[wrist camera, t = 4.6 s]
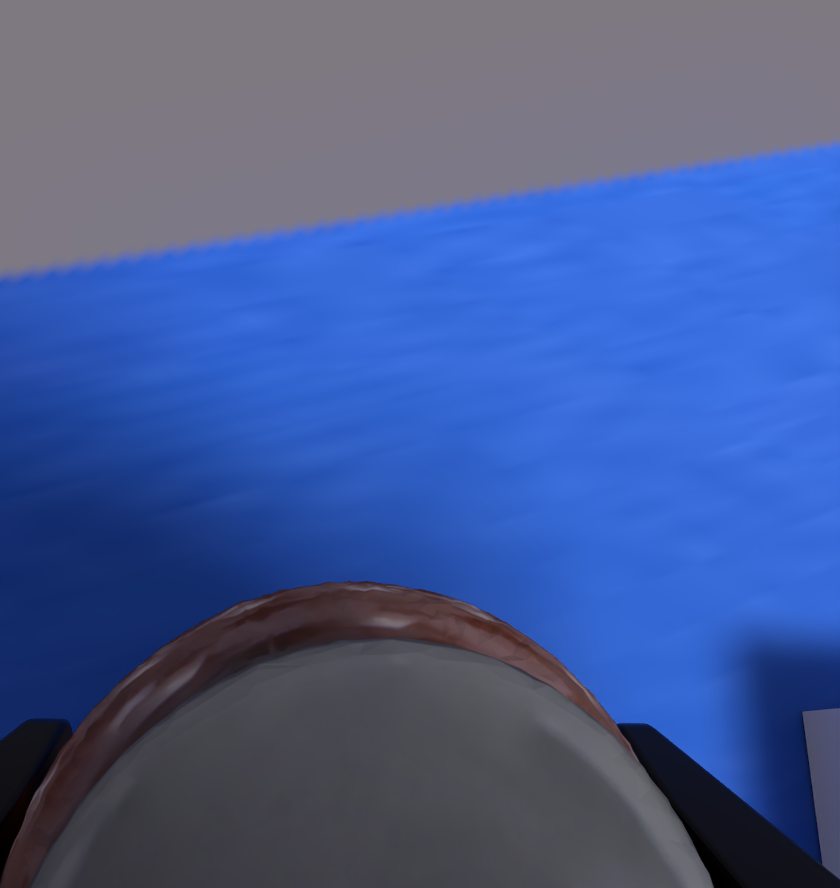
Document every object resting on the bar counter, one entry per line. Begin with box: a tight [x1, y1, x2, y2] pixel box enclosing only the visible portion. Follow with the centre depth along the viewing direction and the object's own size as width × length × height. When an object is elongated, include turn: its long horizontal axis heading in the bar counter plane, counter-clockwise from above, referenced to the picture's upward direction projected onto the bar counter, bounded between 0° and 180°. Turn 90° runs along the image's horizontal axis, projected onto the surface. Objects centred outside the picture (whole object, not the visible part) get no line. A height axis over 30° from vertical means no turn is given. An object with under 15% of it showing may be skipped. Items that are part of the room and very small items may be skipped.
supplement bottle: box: [0, 581, 714, 888], centre depth 9 cm, size 6×6×11 cm
